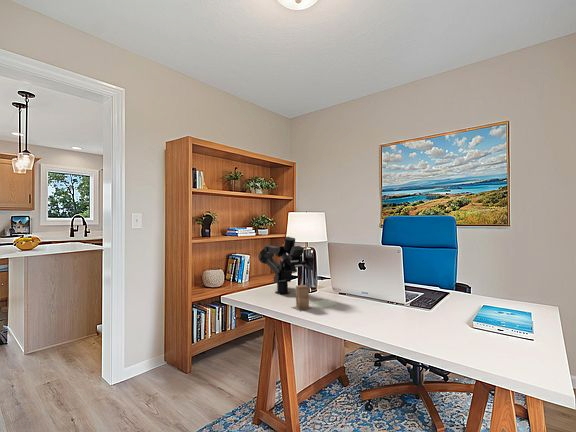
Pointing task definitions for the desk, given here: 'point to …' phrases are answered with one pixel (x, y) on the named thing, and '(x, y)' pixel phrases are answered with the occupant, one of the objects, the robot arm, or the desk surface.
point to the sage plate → (322, 303)
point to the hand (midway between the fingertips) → (304, 270)
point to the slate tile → (302, 309)
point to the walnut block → (302, 297)
